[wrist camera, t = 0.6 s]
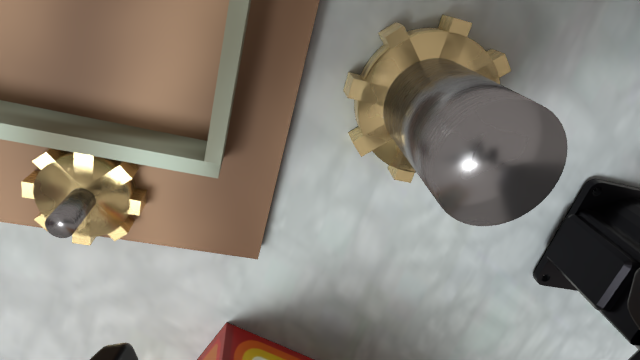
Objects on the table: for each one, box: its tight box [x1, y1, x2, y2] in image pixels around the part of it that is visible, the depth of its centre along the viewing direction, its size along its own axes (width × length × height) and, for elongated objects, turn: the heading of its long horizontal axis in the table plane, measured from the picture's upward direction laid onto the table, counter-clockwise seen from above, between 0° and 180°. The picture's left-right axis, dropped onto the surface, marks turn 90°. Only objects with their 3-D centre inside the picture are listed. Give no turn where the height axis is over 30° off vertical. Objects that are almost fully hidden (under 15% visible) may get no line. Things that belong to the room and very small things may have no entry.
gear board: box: [0, 0, 320, 259], centre depth 15 cm, size 15×16×3 cm
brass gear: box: [343, 15, 567, 226], centre depth 15 cm, size 7×7×7 cm
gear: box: [21, 148, 147, 245], centre depth 16 cm, size 4×4×3 cm
